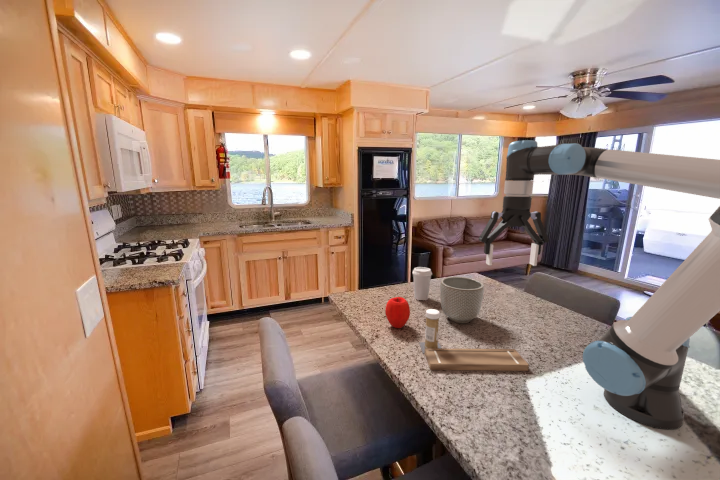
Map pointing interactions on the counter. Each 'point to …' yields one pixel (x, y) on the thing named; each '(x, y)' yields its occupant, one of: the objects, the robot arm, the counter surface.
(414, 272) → the coffee cup
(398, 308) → the apple
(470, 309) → the planter
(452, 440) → the counter surface
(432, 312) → the spice jar
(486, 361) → the board
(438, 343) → the end pad
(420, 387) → the counter surface
